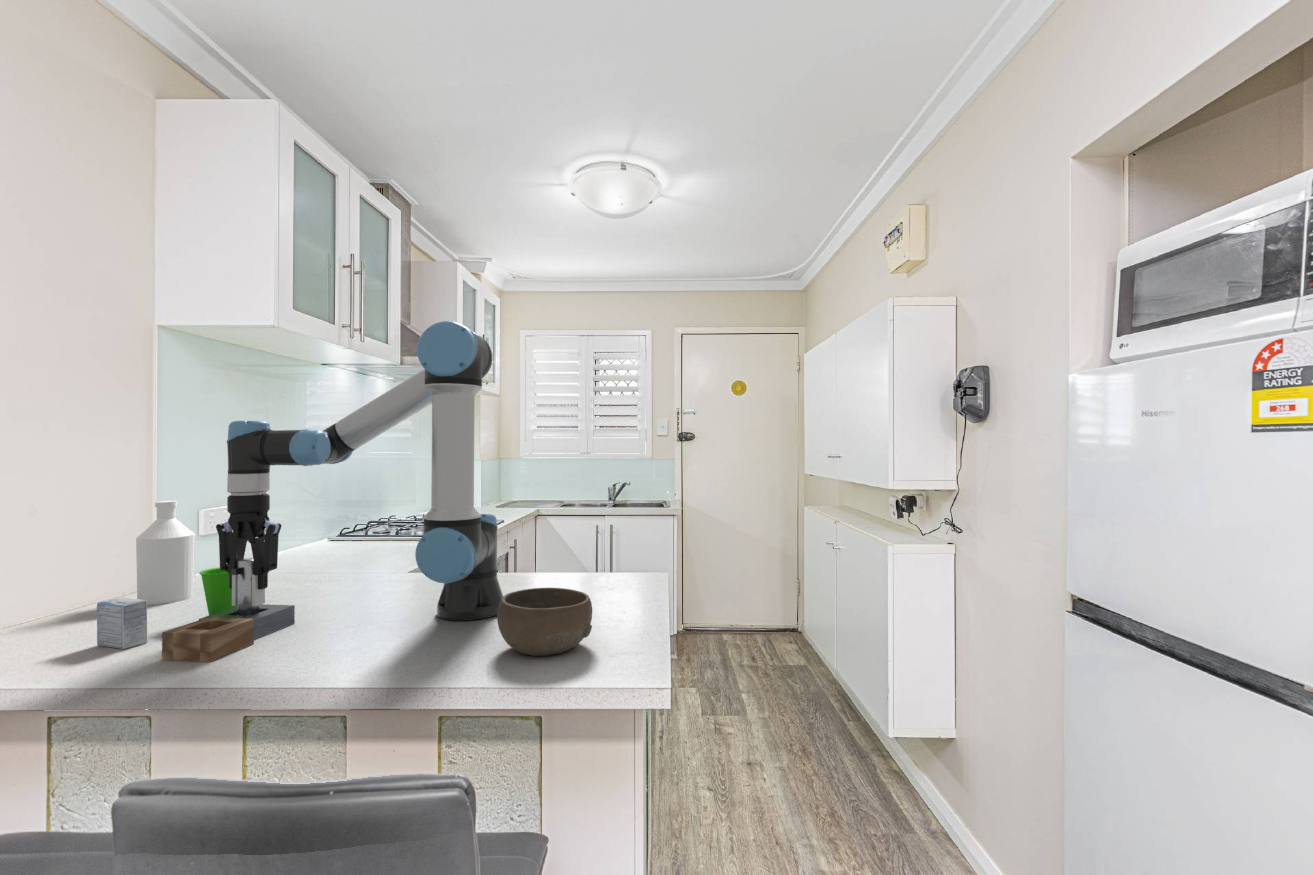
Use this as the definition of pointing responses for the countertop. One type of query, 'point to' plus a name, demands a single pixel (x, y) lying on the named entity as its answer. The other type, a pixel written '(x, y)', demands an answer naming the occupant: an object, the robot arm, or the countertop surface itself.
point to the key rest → (207, 639)
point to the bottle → (165, 558)
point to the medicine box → (122, 622)
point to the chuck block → (264, 618)
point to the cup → (217, 590)
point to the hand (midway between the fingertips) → (248, 603)
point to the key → (245, 587)
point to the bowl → (544, 620)
